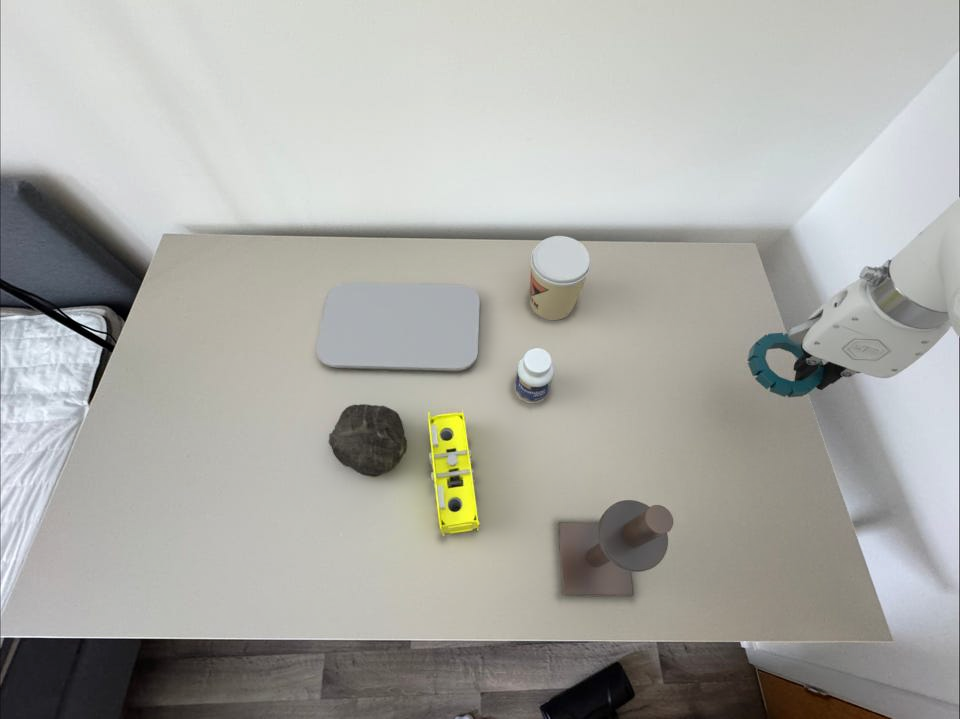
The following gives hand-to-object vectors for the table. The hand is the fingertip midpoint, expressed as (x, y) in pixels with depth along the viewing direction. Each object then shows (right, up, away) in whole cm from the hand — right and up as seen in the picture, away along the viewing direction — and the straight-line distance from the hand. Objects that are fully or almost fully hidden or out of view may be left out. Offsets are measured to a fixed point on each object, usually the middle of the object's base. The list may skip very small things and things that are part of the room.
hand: (809, 376), depth 66 cm
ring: (-3, +1, +1) cm, 3 cm away
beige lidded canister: (-31, +12, +22) cm, 40 cm away
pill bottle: (-35, -3, +14) cm, 38 cm away
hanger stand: (-28, -25, +2) cm, 37 cm away
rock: (-59, -11, +9) cm, 61 cm away
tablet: (-57, +7, +19) cm, 60 cm away
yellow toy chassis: (-47, -15, +7) cm, 50 cm away
